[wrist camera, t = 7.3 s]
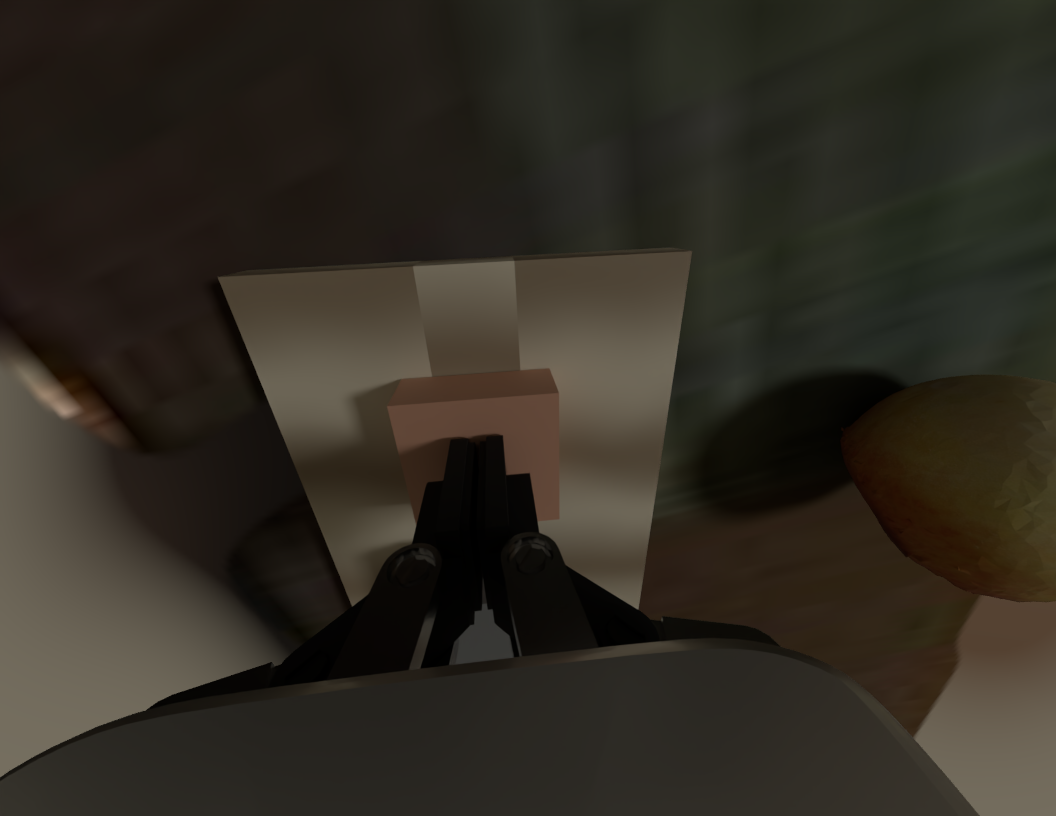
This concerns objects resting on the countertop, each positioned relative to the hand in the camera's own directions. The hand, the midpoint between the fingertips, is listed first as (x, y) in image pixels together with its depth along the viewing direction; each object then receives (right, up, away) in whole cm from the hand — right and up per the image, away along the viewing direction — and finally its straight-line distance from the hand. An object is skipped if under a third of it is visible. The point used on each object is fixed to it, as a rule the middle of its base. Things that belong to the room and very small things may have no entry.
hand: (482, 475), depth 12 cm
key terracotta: (0, +2, +3) cm, 3 cm away
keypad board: (0, -4, +6) cm, 8 cm away
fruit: (+18, +2, +5) cm, 18 cm away
